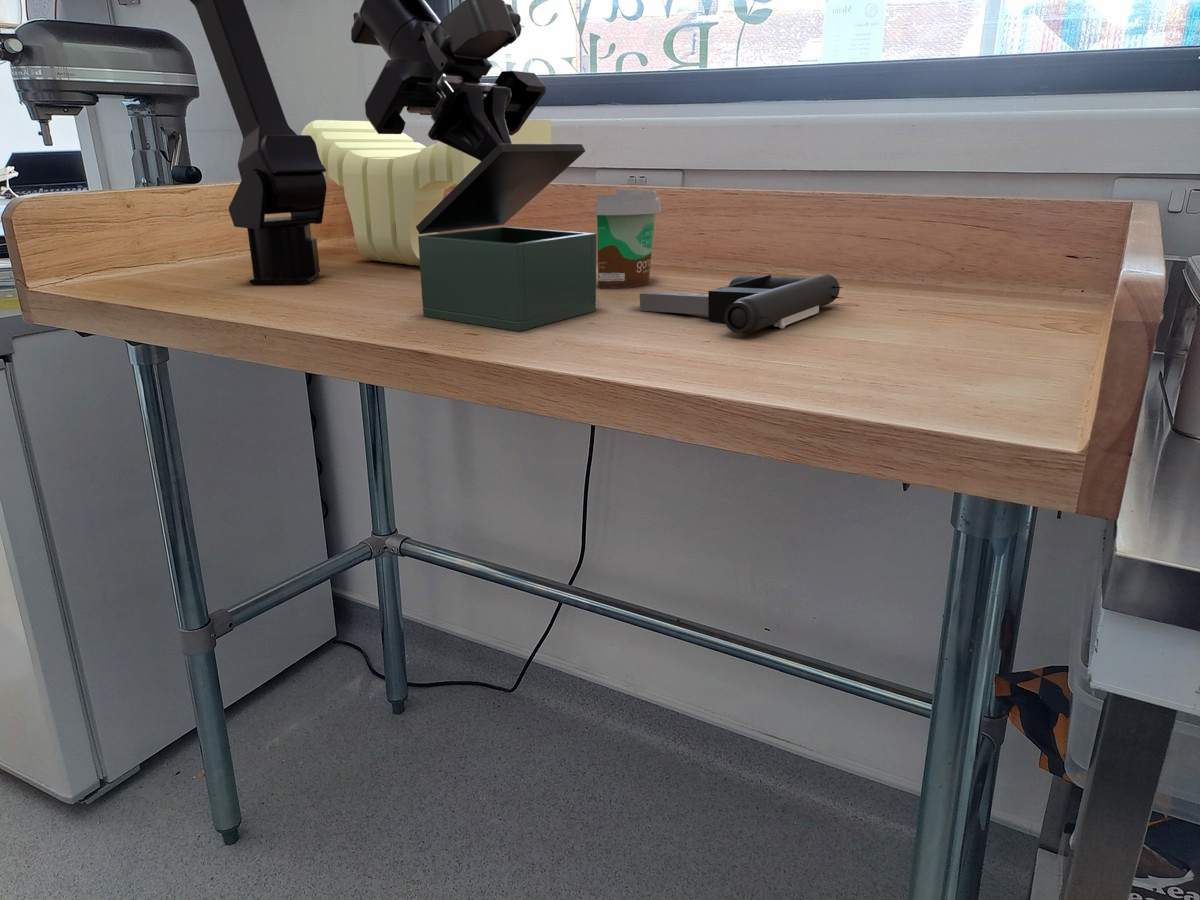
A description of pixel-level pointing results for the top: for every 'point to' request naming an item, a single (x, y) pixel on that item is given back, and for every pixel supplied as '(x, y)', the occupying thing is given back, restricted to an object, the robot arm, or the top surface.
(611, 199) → the food container
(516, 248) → the box
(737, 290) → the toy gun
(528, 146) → the box lid
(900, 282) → the top surface
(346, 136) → the slatted curved stool
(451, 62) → the robot arm
